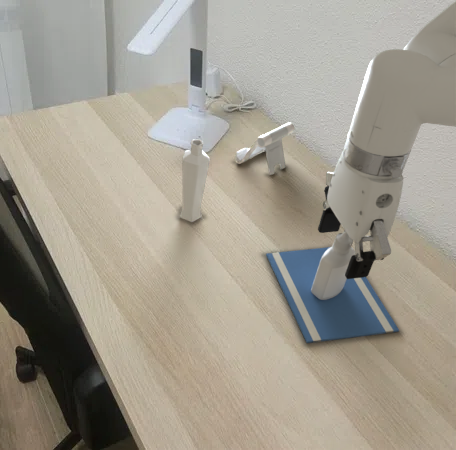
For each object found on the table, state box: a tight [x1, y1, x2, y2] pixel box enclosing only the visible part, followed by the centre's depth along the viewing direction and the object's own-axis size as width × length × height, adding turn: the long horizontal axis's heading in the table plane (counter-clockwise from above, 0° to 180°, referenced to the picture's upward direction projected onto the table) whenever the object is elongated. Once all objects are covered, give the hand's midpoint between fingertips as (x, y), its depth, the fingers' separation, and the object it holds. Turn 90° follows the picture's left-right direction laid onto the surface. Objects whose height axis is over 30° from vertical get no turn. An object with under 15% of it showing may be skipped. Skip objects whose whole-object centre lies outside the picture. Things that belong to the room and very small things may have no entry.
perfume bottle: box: [179, 138, 211, 223], centre depth 93 cm, size 5×4×15 cm
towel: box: [265, 246, 400, 344], centre depth 85 cm, size 14×18×1 cm
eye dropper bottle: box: [311, 229, 355, 300], centre depth 81 cm, size 4×6×12 cm
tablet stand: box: [234, 122, 296, 176], centre depth 108 cm, size 9×8×8 cm
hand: (341, 252), depth 80 cm, fingers open, 9 cm apart
